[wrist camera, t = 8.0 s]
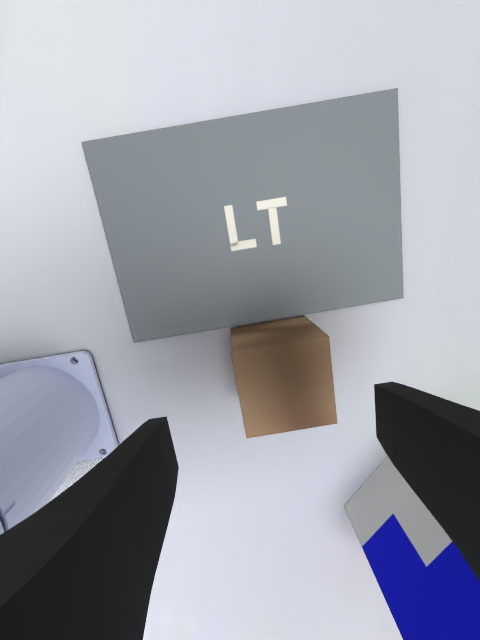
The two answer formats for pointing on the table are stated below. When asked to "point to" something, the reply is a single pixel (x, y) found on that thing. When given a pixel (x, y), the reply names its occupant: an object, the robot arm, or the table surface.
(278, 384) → the walnut block
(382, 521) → the puzzle toy
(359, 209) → the gray tile
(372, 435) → the table surface
